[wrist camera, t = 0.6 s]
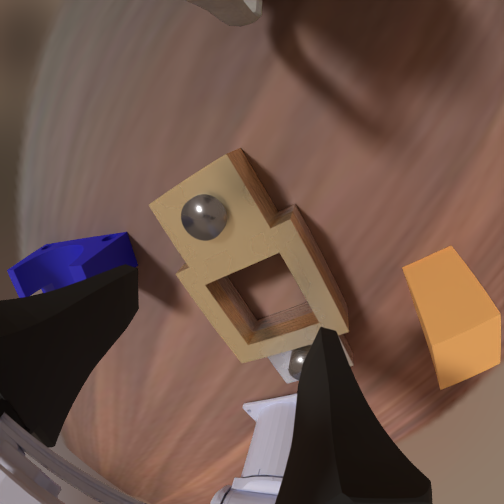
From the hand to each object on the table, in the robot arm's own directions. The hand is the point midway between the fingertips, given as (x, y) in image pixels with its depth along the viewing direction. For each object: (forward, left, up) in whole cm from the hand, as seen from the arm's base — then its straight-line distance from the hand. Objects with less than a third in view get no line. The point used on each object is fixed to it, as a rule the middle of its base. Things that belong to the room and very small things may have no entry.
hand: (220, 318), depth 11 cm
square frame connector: (-4, +2, -10) cm, 11 cm away
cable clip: (+5, +17, -11) cm, 20 cm away
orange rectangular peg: (-9, -9, -10) cm, 16 cm away
